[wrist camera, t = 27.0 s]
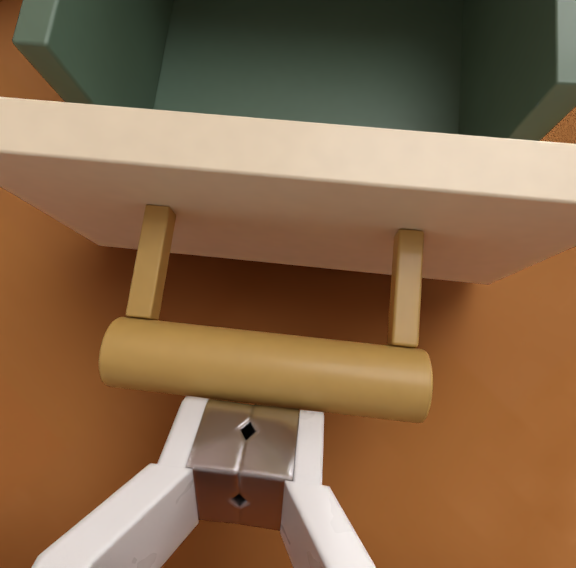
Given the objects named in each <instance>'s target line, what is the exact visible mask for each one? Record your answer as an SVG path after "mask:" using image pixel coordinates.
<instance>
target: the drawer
mask: <svg viewBox="0 0 576 568" xmlns="http://www.w3.org/2000/svg"><path fill="white" fill-rule="evenodd" d="M12 41H13V44H14V45H15V46H16V47H17V49H18V50H19V51H20V52H21V53H22V54H23V55H24V56H25V58H26V59H27V60H28V61H29V62H30V63H31V64H32V65H33V67H34V68H35V69H36V70H37V71H38V72H39V73H40V74H41V75H42V77H43V78H44V79H45V80H46V81H47V82H48V83H49V84H50V86H51V87H52V88H53V89H54V90H55V91H56V92H57V93H58V95H59V96H60V97H61V98H62V99H63V100H64V101H65V102H57V101H45V100H32V99H20V98H8V97H0V187H2V188H4V189H5V190H7V191H9V192H10V193H12V194H14V195H15V196H17V197H19V198H20V199H22V200H24V201H25V202H27V203H29V204H30V205H32V206H34V207H35V208H37V209H39V210H40V211H42V212H44V213H45V214H47V215H49V216H51V217H52V218H54V219H56V220H57V221H59V222H61V223H62V224H64V225H66V226H67V227H69V228H71V229H72V230H74V231H76V232H77V233H79V234H81V235H82V236H84V237H86V238H87V239H89V240H91V241H92V242H94V243H96V244H97V245H99V246H108V247H118V248H128V249H138V250H137V255H136V261H135V266H134V272H133V277H132V282H131V288H130V293H129V299H128V304H127V309H126V316H128V317H119V318H116V319H115V320H114V321H113V322H112V323H111V324H110V325H109V327H108V328H107V330H106V332H105V335H104V337H103V340H102V343H101V348H100V353H99V373H100V377H101V380H102V382H103V383H104V384H105V385H107V386H109V387H116V388H124V389H133V390H141V391H150V392H158V393H167V394H175V395H183V396H193V397H201V398H209V399H217V400H226V401H234V402H243V403H251V404H260V405H268V406H277V407H286V408H296V409H302V410H311V411H319V412H327V413H336V414H344V415H353V416H361V417H370V418H378V419H387V420H395V421H404V422H412V423H421V422H423V421H424V420H425V419H426V417H427V415H428V412H429V409H430V405H431V400H432V391H433V373H432V365H431V361H430V357H429V355H428V353H427V352H426V351H425V350H423V349H416V348H415V347H418V344H419V325H420V305H421V286H422V278H428V279H438V280H448V281H458V282H468V283H478V284H491V283H493V282H495V281H498V280H500V279H502V278H504V277H507V276H509V275H511V274H513V273H516V272H518V271H520V270H523V269H525V268H527V267H529V266H532V265H534V264H536V263H538V262H541V261H543V260H545V259H547V258H550V257H552V256H554V255H556V254H559V253H561V252H563V251H565V250H568V249H570V248H572V247H575V246H576V144H570V143H557V142H545V141H540V140H541V139H542V138H543V137H544V136H545V135H546V134H547V133H548V132H549V131H550V130H551V129H552V128H553V127H555V126H556V125H557V124H558V123H559V122H560V121H561V120H562V119H563V118H564V117H565V116H566V115H567V114H568V113H569V112H570V111H571V110H572V109H573V108H574V107H576V0H23V2H22V6H21V9H20V13H19V17H18V20H17V24H16V28H15V32H14V35H13V39H12ZM170 253H178V254H188V255H198V256H208V257H218V258H228V259H238V260H248V261H258V262H268V263H278V264H288V265H298V266H308V267H318V268H328V269H338V270H348V271H358V272H368V273H378V274H388V275H391V289H390V304H389V320H388V335H387V344H388V345H380V344H371V343H361V342H352V341H343V340H334V339H325V338H315V337H306V336H297V335H288V334H279V333H269V332H260V331H251V330H242V329H233V328H224V327H214V326H205V325H196V324H187V323H178V322H168V321H159V315H160V309H161V303H162V297H163V291H164V285H165V279H166V273H167V268H168V262H169V256H170Z"/></svg>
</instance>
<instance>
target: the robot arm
mask: <svg viewBox="0 0 576 568" xmlns="http://www.w3.org/2000/svg"><path fill="white" fill-rule="evenodd" d="M323 440H324V414H323V412H317V411H308V410H300V411H299V409H296V408H286V407H276V406H267V405H257V404H254V405H250V404H243V403H236V402H230V401H223V400H216V399H209V398H201V397H193V396H186V397H185V398H184V400H183V401H182V402H181V405H180V407H179V410H178V413H177V415H176V418H175V420H174V423H173V425H172V428H171V430H170V433H169V435H168V438H167V440H166V443H165V445H164V448H163V450H162V453H161V455H160V458H159V460H158V463H157V464H153V463H150V464H148V465H147V466H146V467H145V468H144V469H142V470H141V471H140V472H139V473H138V474H136V475H135V476H134V477H133V478H132V479H130V480H129V481H128V482H127V483H125V484H124V485H123V486H122V487H121V488H119V489H118V490H117V491H116V492H115V493H113V494H112V495H111V496H110V497H109V498H107V499H106V500H105V501H104V502H102V503H101V504H100V505H99V506H98V507H96V508H95V509H94V510H93V511H92V512H90V513H89V514H88V515H87V516H86V517H84V518H83V519H82V520H81V521H79V522H78V523H77V524H76V525H75V526H73V527H72V528H71V529H70V530H69V531H67V532H66V533H65V534H64V535H63V536H61V537H60V538H59V539H58V540H56V541H55V542H54V543H53V544H52V545H50V546H49V547H48V548H47V549H46V550H44V551H43V552H42V553H41V554H40V555H38V557H37V558H36V560H35V562H34V564H33V566H32V568H161V567H162V566H163V564H164V563H165V562H166V561H167V560H168V559H169V557H170V556H171V555H172V554H173V553H174V551H175V550H176V549H177V548H178V547H179V546H180V544H181V543H182V542H183V541H184V540H185V539H186V537H187V536H188V535H189V534H190V533H191V531H192V530H193V529H194V528H195V527H196V526H197V524H198V523H199V521H198V520H204V521H213V522H223V523H233V524H241V525H247V526H253V527H259V528H266V529H272V530H278V531H280V534H281V537H282V540H283V542H284V545H285V547H286V550H287V553H288V555H289V558H290V560H291V563H292V566H293V568H376V567H375V565H374V563H373V561H372V560H371V558H370V556H369V554H368V553H367V551H366V549H365V547H364V546H363V544H362V542H361V540H360V539H359V537H358V535H357V534H356V532H355V530H354V528H353V527H352V525H351V523H350V521H349V520H348V518H347V516H346V514H345V513H344V511H343V509H342V507H341V506H340V504H339V502H338V501H337V499H336V497H335V495H334V494H333V492H332V490H331V488H330V487H329V486H325V485H322V468H323Z"/></svg>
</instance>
